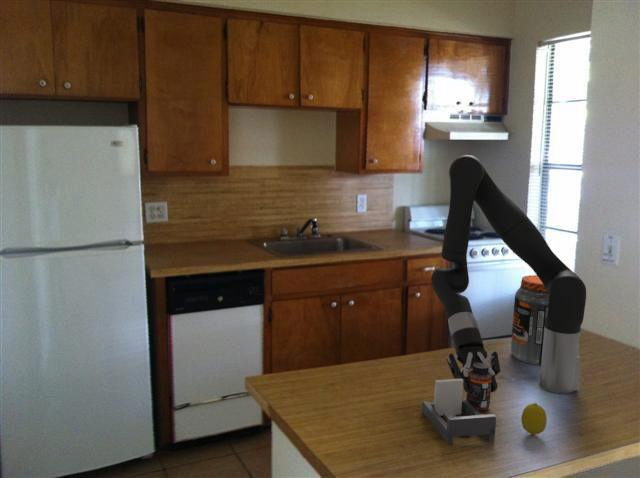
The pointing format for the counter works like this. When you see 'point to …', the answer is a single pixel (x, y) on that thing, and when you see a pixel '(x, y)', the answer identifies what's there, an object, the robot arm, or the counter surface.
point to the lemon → (534, 419)
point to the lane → (461, 422)
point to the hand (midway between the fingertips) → (482, 391)
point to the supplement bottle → (480, 386)
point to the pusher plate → (448, 397)
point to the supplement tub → (529, 320)
